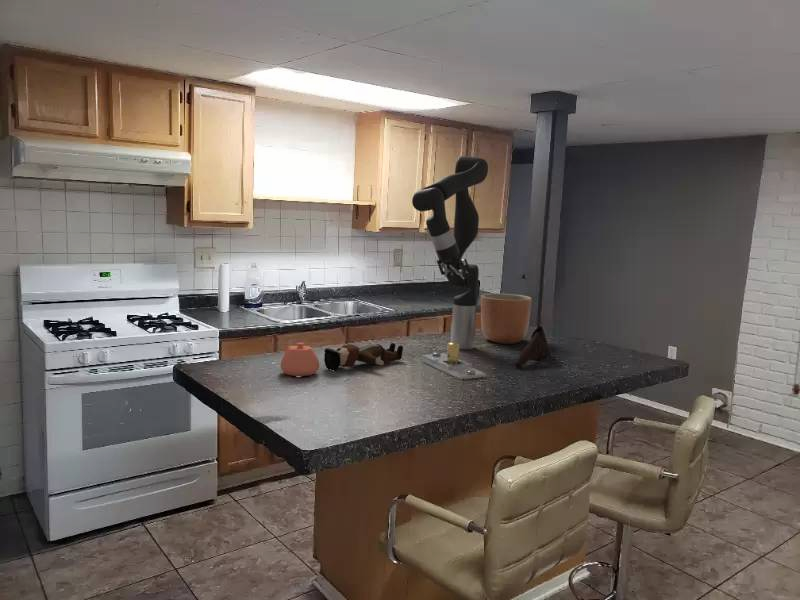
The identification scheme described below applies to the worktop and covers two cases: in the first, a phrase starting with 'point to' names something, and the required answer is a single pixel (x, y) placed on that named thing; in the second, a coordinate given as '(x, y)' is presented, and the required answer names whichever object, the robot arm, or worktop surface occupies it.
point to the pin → (452, 353)
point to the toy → (360, 355)
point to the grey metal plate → (452, 366)
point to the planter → (505, 317)
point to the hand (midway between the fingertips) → (460, 285)
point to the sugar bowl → (299, 360)
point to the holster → (534, 348)
